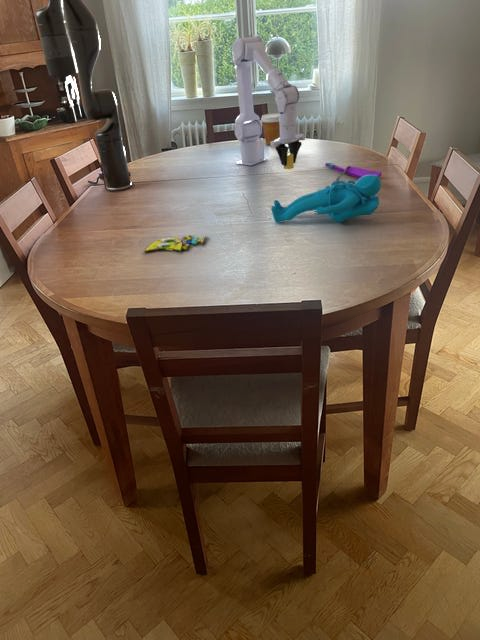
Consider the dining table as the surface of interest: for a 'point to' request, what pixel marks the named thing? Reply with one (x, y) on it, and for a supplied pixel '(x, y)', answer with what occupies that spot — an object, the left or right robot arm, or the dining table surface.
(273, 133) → the disposable coffee cup
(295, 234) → the dining table surface
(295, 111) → the right robot arm
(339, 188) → the toy
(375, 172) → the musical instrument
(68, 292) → the dining table surface
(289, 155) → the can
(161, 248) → the toy
